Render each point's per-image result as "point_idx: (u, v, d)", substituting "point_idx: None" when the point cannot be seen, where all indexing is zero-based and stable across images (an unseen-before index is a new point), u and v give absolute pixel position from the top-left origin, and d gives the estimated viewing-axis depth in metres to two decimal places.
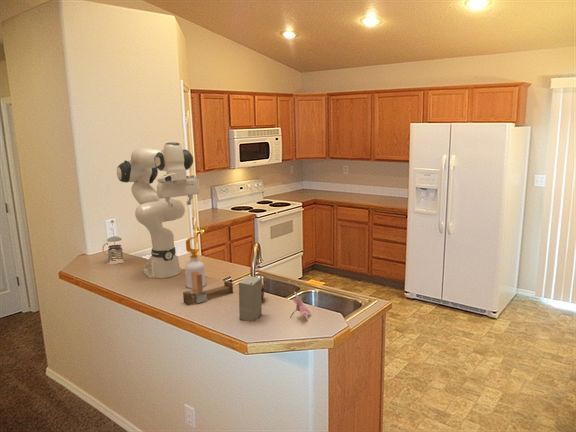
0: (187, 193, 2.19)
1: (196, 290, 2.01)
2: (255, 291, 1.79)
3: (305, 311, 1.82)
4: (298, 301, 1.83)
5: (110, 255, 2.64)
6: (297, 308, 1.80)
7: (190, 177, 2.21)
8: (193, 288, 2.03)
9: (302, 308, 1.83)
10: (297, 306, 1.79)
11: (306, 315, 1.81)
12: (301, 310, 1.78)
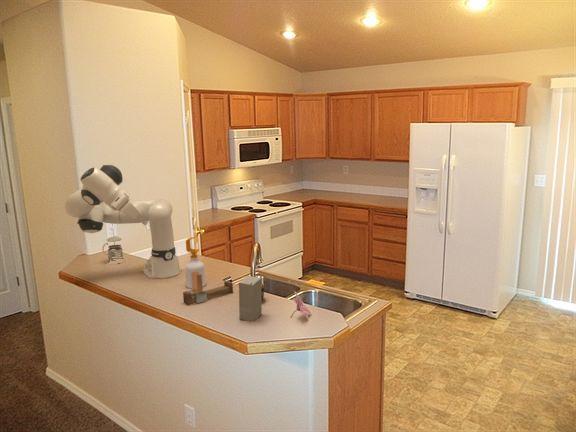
0: None
1: (196, 290, 2.01)
2: (255, 291, 1.79)
3: (305, 311, 1.82)
4: (298, 301, 1.83)
5: (110, 255, 2.64)
6: (297, 308, 1.80)
7: None
8: (193, 288, 2.03)
9: (302, 308, 1.83)
10: (297, 306, 1.79)
11: (306, 315, 1.81)
12: (301, 310, 1.78)
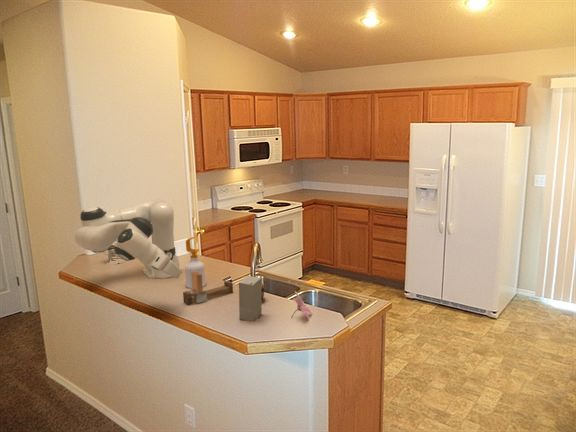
0: None
1: (196, 290, 2.01)
2: (255, 291, 1.79)
3: (306, 310, 1.83)
4: (299, 301, 1.83)
5: (110, 255, 2.64)
6: (298, 308, 1.80)
7: None
8: (193, 288, 2.03)
9: (303, 308, 1.83)
10: (298, 306, 1.79)
11: (307, 315, 1.81)
12: (302, 310, 1.78)
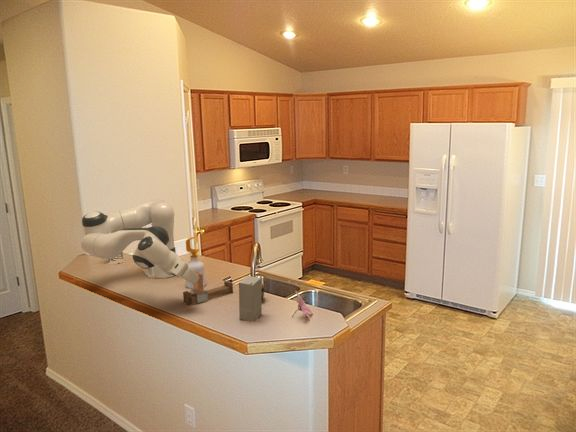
0: None
1: (197, 290, 2.01)
2: (255, 291, 1.79)
3: (307, 310, 1.83)
4: (300, 301, 1.83)
5: None
6: (299, 308, 1.80)
7: None
8: (194, 288, 2.03)
9: (304, 308, 1.83)
10: (299, 306, 1.79)
11: (308, 315, 1.81)
12: (303, 310, 1.78)
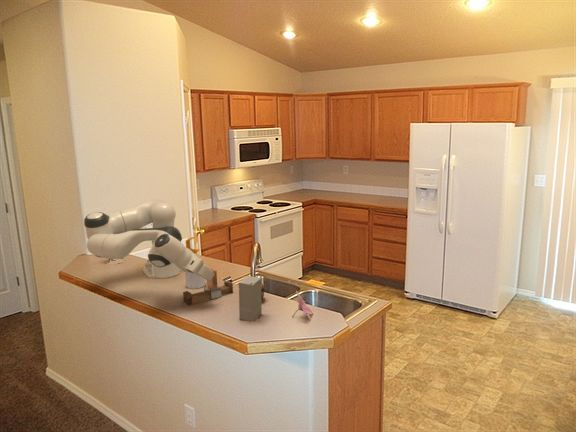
0: None
1: (211, 286, 2.05)
2: (255, 291, 1.79)
3: (307, 310, 1.83)
4: (300, 301, 1.83)
5: None
6: (299, 308, 1.80)
7: None
8: (208, 284, 2.07)
9: (304, 307, 1.83)
10: (299, 306, 1.80)
11: (308, 314, 1.81)
12: (304, 309, 1.78)
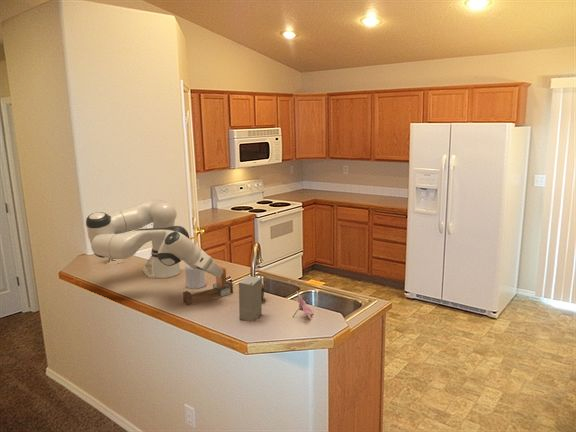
0: None
1: (220, 284, 2.08)
2: (255, 291, 1.79)
3: (307, 310, 1.83)
4: (300, 300, 1.83)
5: None
6: (300, 307, 1.80)
7: None
8: (217, 282, 2.10)
9: (304, 307, 1.83)
10: (300, 305, 1.80)
11: (308, 314, 1.81)
12: (304, 309, 1.78)
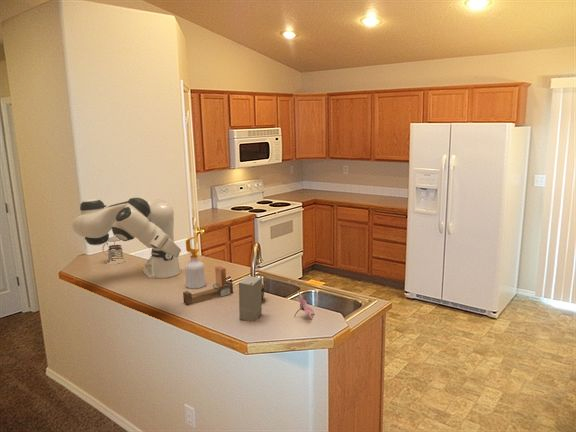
0: None
1: (220, 284, 2.08)
2: (255, 291, 1.79)
3: (308, 310, 1.83)
4: (301, 300, 1.83)
5: (110, 255, 2.64)
6: (301, 307, 1.81)
7: None
8: (217, 282, 2.10)
9: (305, 307, 1.84)
10: (301, 305, 1.80)
11: (310, 314, 1.82)
12: (305, 309, 1.78)
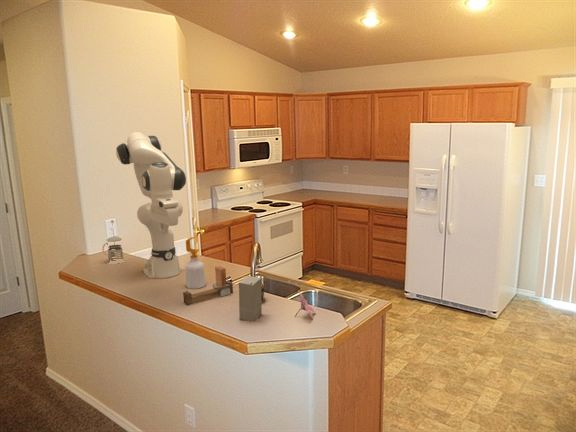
0: None
1: (220, 284, 2.08)
2: (255, 291, 1.79)
3: (309, 309, 1.83)
4: (302, 300, 1.83)
5: (110, 255, 2.64)
6: (302, 307, 1.81)
7: None
8: (217, 282, 2.10)
9: (306, 307, 1.84)
10: (302, 305, 1.80)
11: (311, 314, 1.82)
12: (306, 309, 1.79)
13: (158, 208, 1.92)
